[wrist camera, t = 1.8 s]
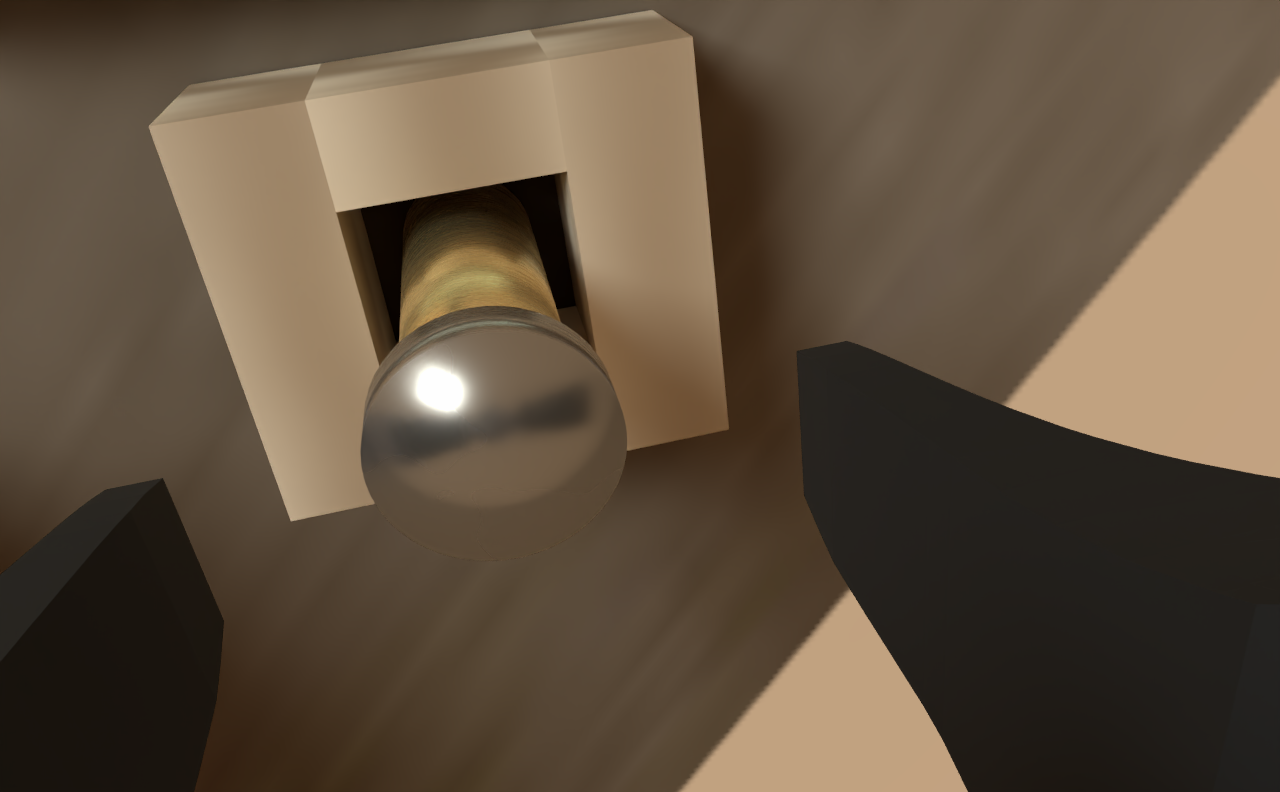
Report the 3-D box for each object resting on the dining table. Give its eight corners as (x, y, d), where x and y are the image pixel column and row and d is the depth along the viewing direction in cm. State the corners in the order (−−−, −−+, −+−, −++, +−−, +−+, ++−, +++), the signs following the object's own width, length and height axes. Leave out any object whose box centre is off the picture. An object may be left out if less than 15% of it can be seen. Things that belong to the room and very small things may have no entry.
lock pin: (404, 328, 20) (396, 584, 13) (361, 169, 18) (328, 362, 11) (564, 298, 20) (642, 530, 13) (536, 139, 19) (608, 308, 12)
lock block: (306, 436, 20) (290, 520, 18) (189, 84, 17) (148, 126, 14) (690, 359, 21) (728, 429, 19) (652, 9, 18) (692, 36, 15)
